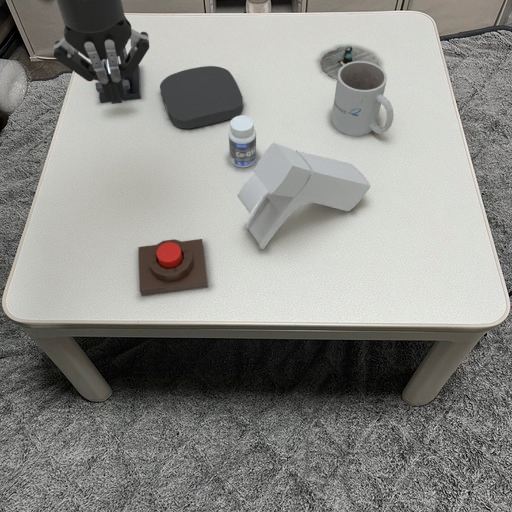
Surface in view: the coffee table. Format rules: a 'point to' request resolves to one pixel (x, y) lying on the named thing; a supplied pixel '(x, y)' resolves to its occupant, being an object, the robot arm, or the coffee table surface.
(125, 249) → the coffee table surface
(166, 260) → the button
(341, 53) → the sculpture
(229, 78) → the media streaming box
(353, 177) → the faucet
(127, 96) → the bracket
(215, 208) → the coffee table surface
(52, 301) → the coffee table surface
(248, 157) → the pill bottle
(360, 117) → the mug
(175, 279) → the button box
